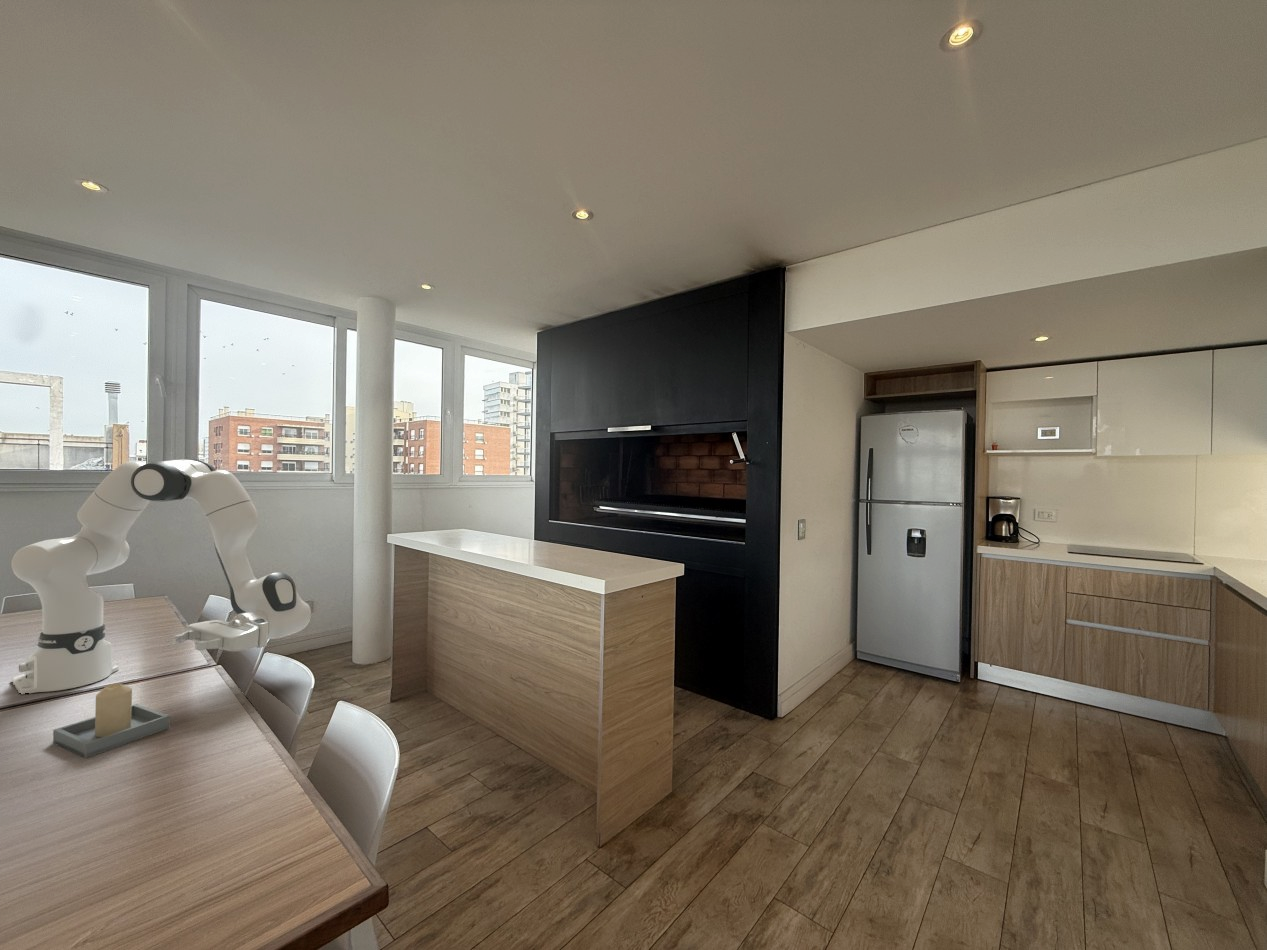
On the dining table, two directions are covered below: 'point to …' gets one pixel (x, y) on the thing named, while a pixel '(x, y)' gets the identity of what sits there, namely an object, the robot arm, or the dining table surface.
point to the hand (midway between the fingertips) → (185, 643)
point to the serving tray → (87, 744)
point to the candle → (113, 710)
